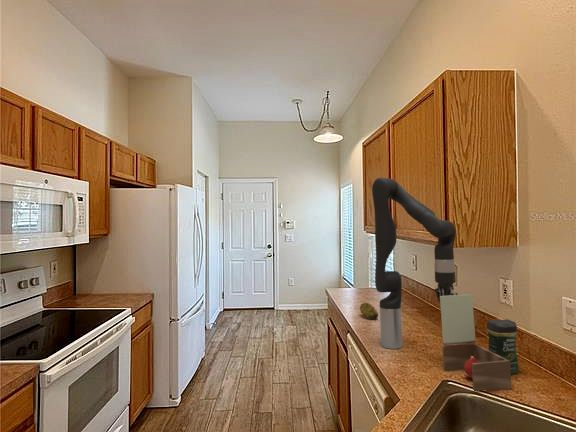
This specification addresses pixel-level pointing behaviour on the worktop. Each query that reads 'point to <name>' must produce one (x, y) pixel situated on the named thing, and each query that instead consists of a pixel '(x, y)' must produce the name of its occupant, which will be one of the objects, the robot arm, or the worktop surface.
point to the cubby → (479, 366)
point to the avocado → (368, 311)
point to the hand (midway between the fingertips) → (446, 314)
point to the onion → (470, 366)
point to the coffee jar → (503, 341)
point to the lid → (457, 319)
